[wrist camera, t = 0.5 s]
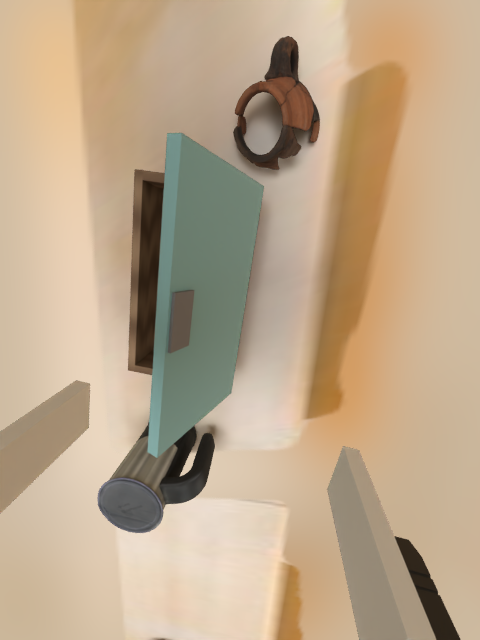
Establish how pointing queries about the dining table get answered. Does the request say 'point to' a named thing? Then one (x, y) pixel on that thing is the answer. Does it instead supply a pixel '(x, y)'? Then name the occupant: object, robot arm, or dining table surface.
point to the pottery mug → (291, 100)
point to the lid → (199, 286)
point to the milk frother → (154, 482)
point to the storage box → (145, 268)
